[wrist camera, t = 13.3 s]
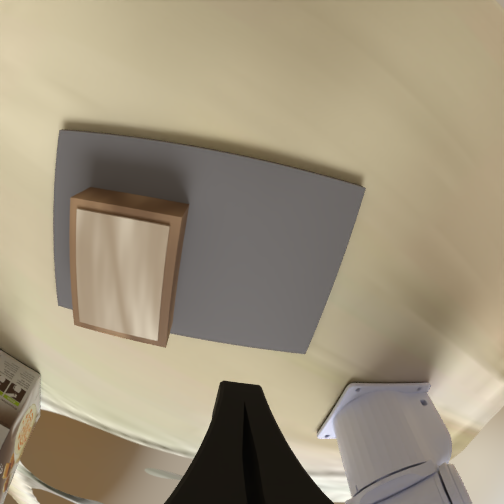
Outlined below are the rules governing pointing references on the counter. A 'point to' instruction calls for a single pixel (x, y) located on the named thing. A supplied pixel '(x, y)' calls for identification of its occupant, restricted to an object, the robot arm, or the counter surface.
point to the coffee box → (15, 414)
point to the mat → (223, 233)
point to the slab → (125, 263)
